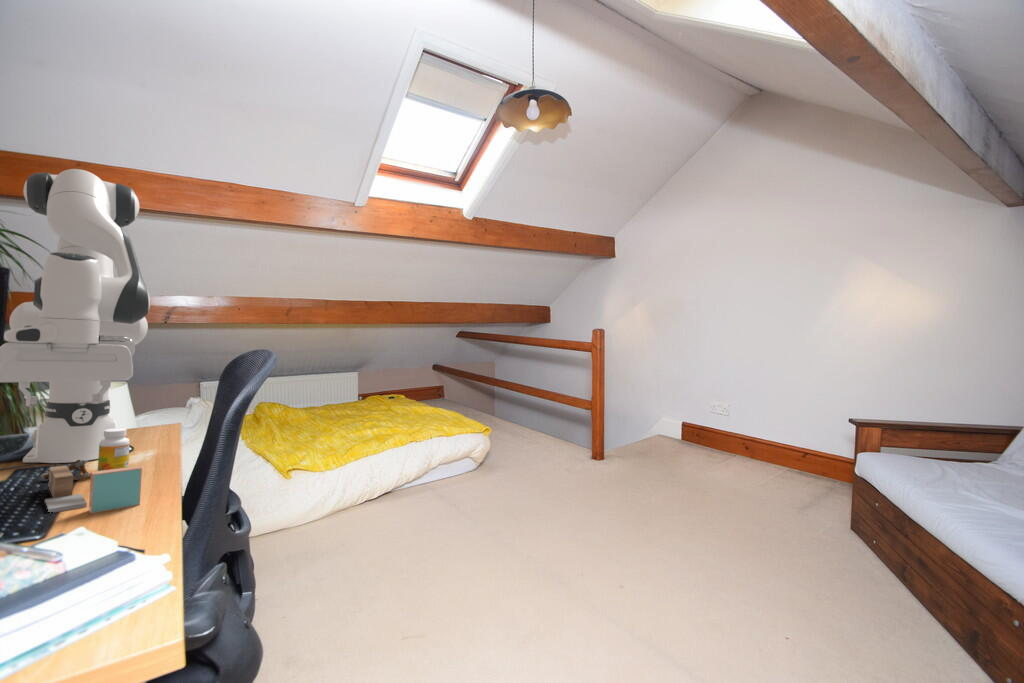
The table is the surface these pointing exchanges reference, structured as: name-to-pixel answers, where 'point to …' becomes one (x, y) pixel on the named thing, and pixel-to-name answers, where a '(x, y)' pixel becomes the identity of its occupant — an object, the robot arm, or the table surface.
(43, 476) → the wooden post with brackets
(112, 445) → the supplement bottle
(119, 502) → the tile
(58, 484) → the brown bar with plate
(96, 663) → the table surface
